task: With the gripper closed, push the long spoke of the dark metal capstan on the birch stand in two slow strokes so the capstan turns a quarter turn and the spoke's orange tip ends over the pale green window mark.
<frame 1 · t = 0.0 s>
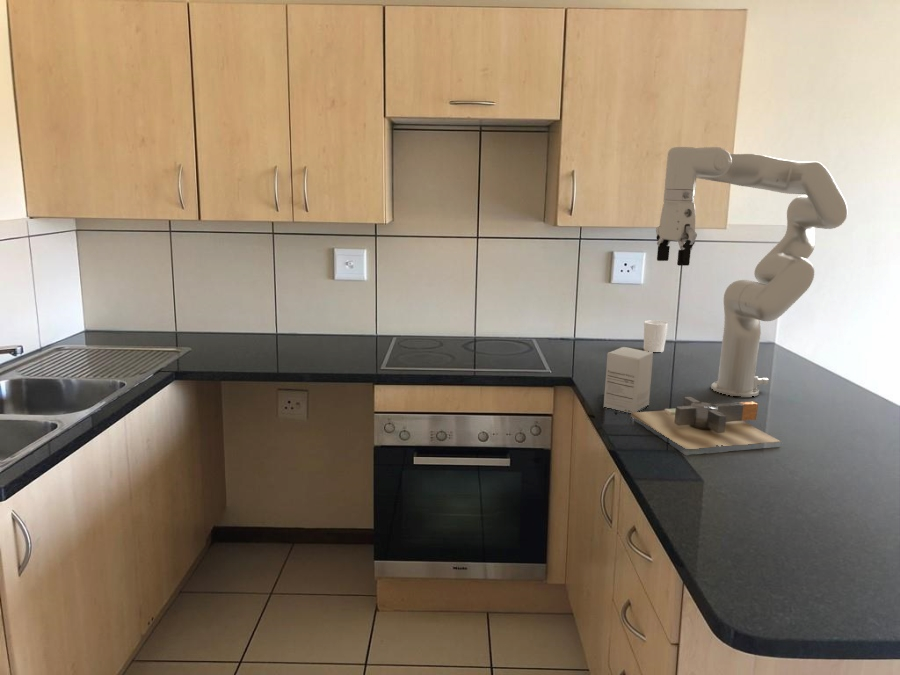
hand: (672, 262, 182), 37 cm above the worktop, tool pointing down, fingers open, 9 cm apart
white cup: (653, 351, 241), on the worktop
stand plate: (701, 432, 164), on the worktop
capstan: (716, 414, 164), point 4 cm above the worktop, hinge at 0.0°
supplement box: (625, 408, 180), on the worktop
level window: (677, 418, 173), resting on stand plate
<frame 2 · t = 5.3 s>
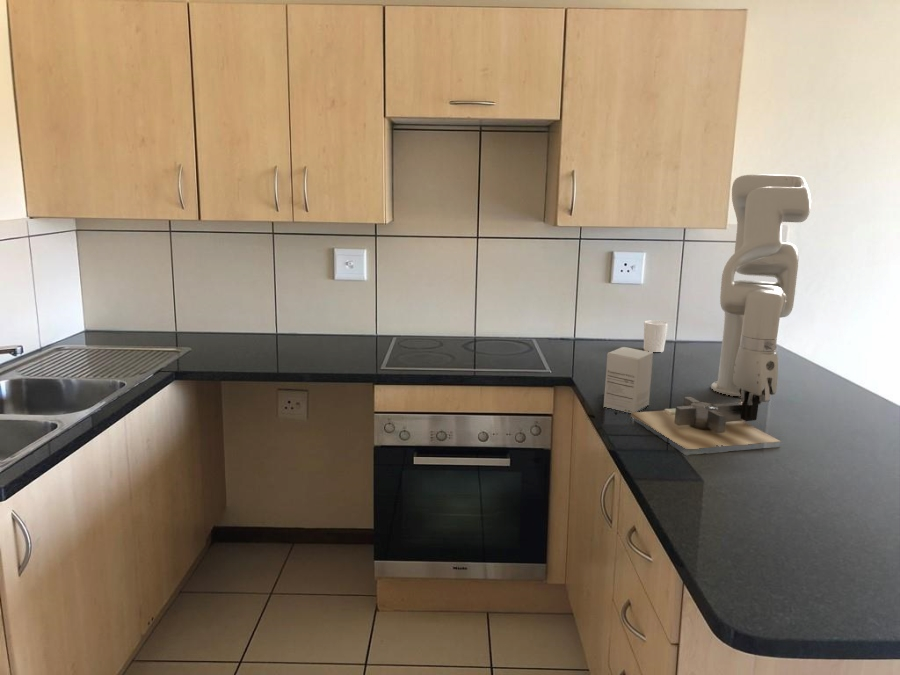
hand: (748, 419, 163), 4 cm above the worktop, tool pointing down, fingers closed
capstan: (716, 414, 164), point 4 cm above the worktop, hinge at 0.0°, touching gripper
everything else where it was.
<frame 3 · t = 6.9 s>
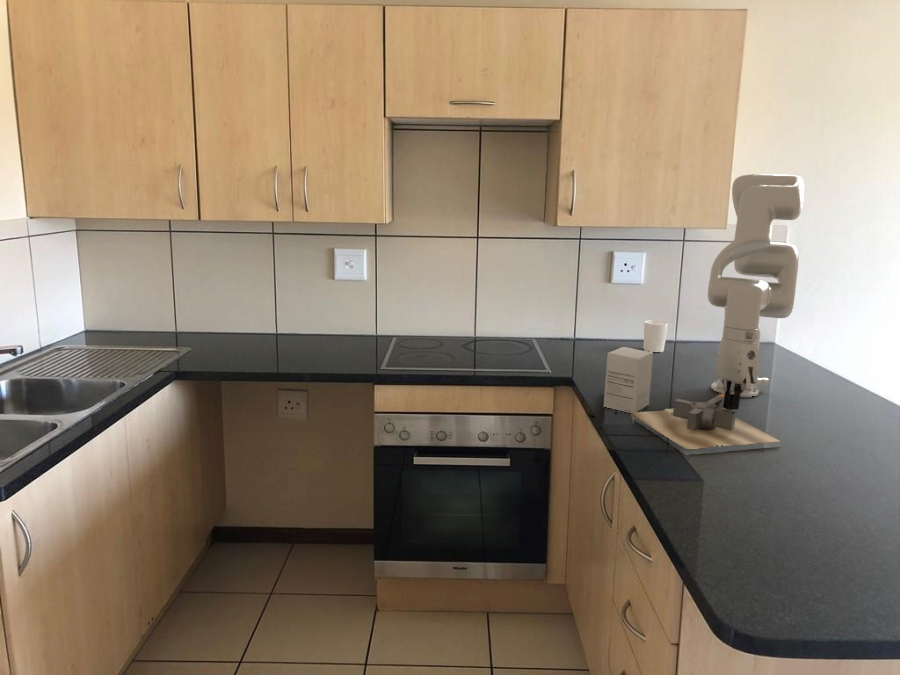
hand: (730, 408, 168), 4 cm above the worktop, tool pointing down, fingers closed
capstan: (709, 412, 165), point 4 cm above the worktop, hinge at 33.8°, touching gripper
everything else where it was.
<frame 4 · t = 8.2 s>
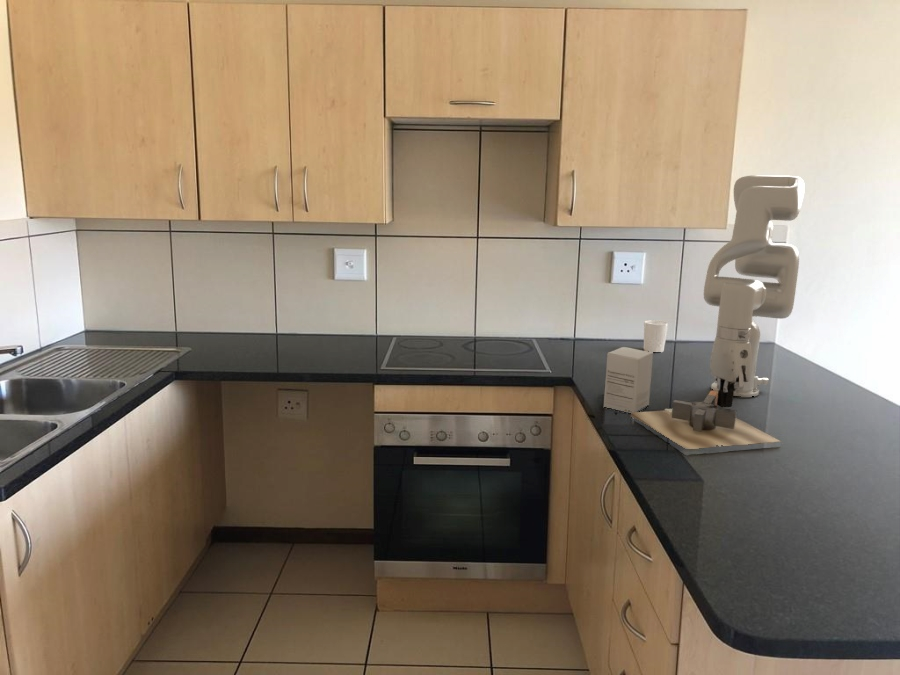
hand: (724, 406, 171), 4 cm above the worktop, tool pointing down, fingers closed
capstan: (706, 411, 166), point 4 cm above the worktop, hinge at 45.6°, touching gripper
everything else where it was.
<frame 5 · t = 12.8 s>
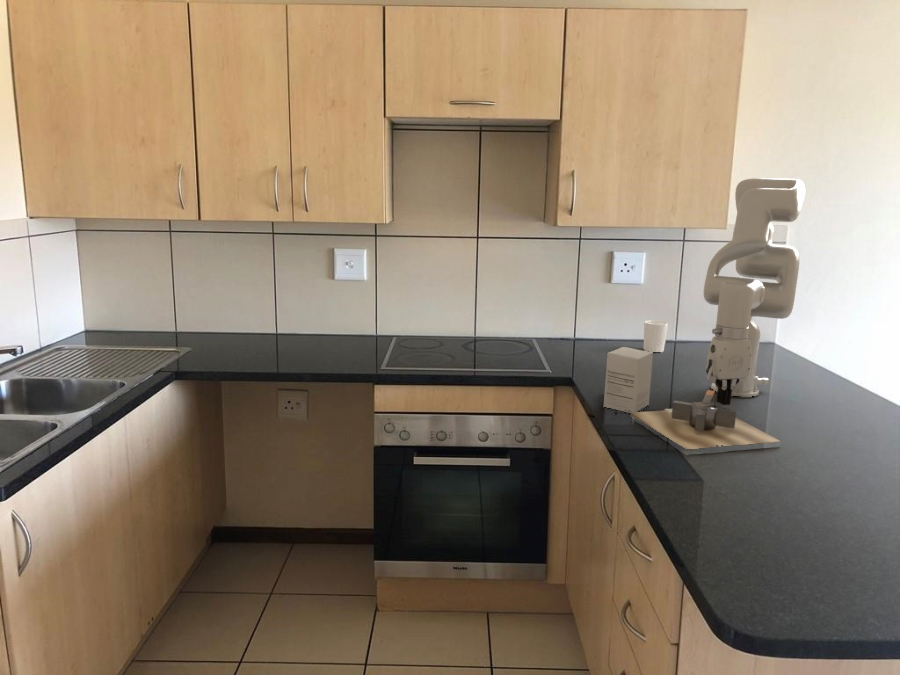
hand: (723, 403, 174), 4 cm above the worktop, tool pointing down, fingers closed
capstan: (705, 411, 166), point 4 cm above the worktop, hinge at 49.1°, touching gripper
everything else where it was.
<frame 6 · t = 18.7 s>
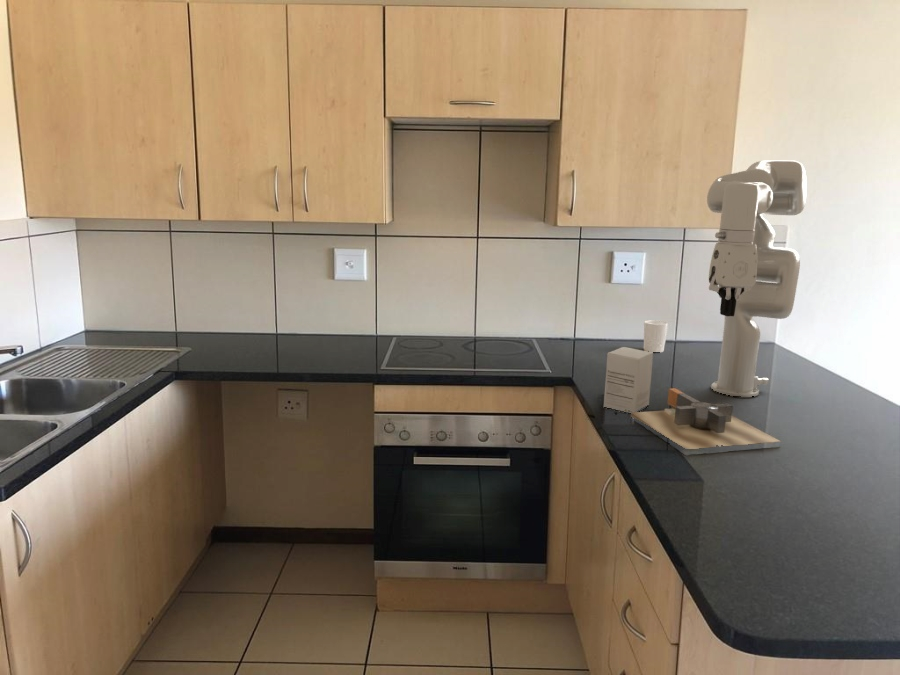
hand: (727, 315, 164), 27 cm above the worktop, tool pointing down, fingers closed
capstan: (694, 410, 166), point 4 cm above the worktop, hinge at 89.3°
everything else where it was.
at the end: capstan at +89° (first picture: +0°) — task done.
